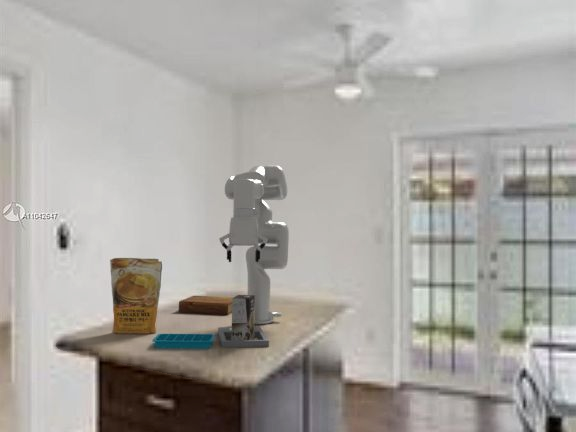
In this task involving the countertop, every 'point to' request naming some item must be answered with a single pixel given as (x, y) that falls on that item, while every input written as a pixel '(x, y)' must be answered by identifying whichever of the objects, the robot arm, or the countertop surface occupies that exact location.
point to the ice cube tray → (184, 341)
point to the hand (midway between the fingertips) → (243, 261)
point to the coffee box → (243, 317)
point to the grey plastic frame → (227, 332)
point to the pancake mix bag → (135, 294)
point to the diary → (206, 305)
